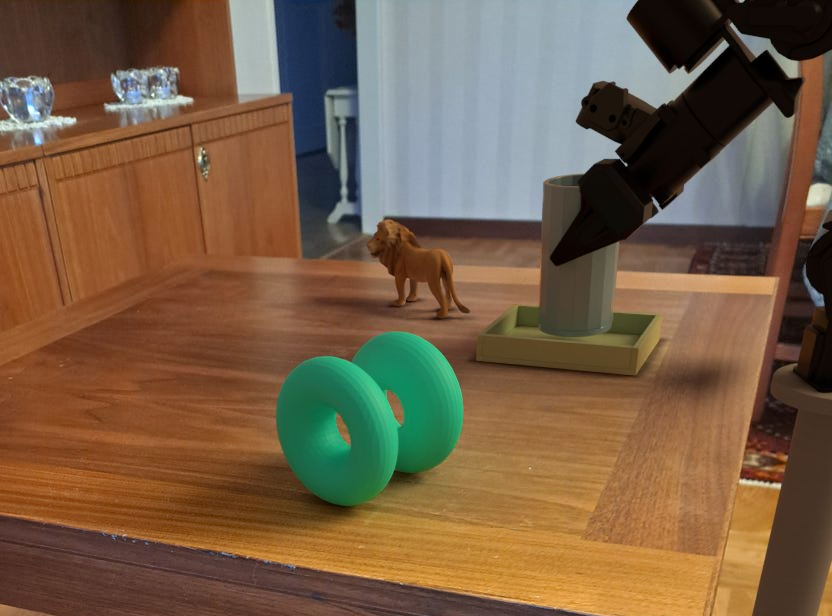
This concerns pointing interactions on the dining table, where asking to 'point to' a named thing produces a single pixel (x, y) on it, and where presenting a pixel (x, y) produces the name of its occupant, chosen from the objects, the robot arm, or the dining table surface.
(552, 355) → the tray
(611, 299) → the cup
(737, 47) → the robot arm
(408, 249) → the lion figurine
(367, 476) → the donuts
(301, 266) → the dining table surface
